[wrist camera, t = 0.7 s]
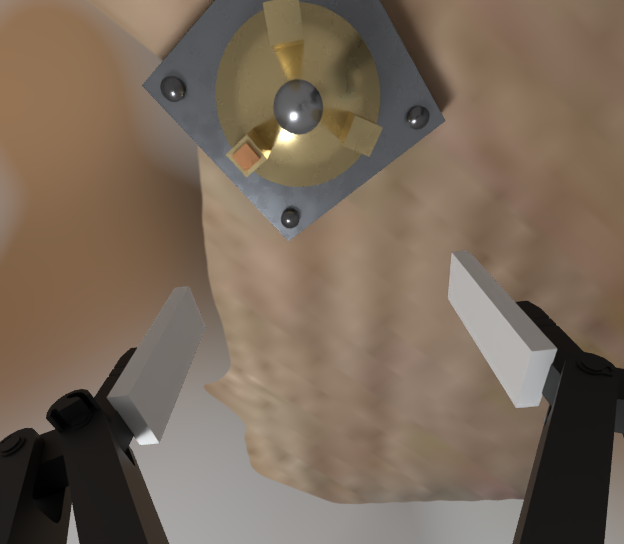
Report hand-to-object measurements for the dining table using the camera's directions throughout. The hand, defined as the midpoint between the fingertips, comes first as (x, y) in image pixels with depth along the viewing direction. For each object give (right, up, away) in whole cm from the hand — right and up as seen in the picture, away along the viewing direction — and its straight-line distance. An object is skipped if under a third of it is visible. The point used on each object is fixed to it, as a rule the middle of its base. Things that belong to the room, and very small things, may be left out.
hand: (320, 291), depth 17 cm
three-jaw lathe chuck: (-2, +17, +14) cm, 22 cm away
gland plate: (-2, +18, +16) cm, 24 cm away
